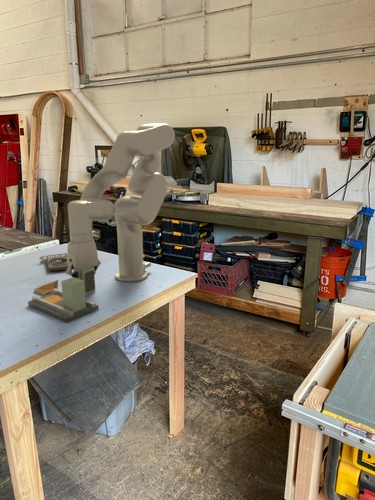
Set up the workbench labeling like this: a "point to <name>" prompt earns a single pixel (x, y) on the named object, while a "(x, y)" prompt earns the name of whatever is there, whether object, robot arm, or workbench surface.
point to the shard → (47, 288)
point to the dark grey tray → (59, 306)
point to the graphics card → (55, 262)
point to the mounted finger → (73, 294)
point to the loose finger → (88, 280)
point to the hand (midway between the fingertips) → (85, 286)
